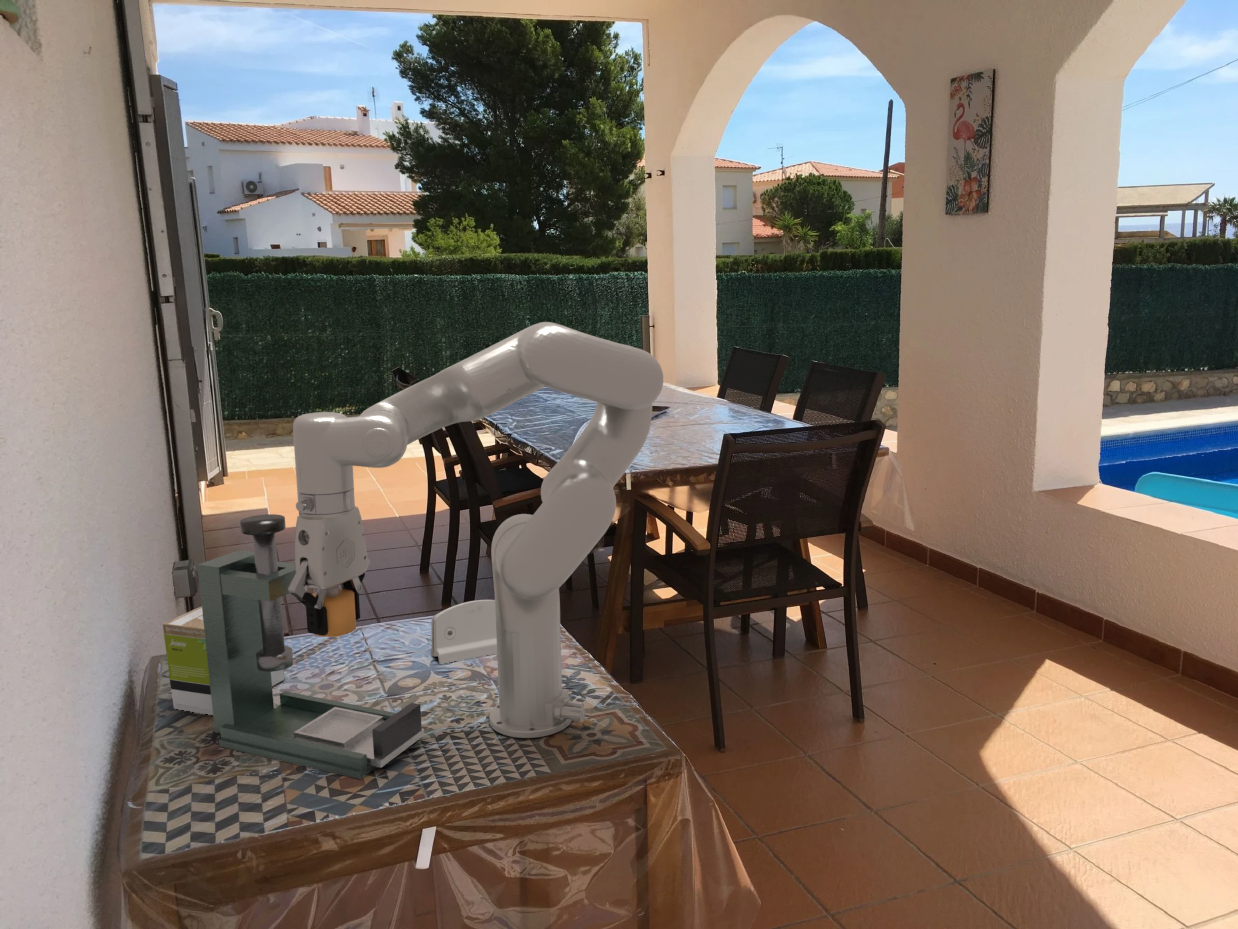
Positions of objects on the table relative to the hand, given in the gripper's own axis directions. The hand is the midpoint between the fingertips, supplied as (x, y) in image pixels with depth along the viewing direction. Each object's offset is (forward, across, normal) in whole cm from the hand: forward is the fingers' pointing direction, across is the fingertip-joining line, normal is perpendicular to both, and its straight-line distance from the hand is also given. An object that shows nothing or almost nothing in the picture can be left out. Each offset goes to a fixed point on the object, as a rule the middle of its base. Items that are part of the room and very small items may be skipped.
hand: (334, 624), depth 135 cm
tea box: (+18, +5, +28) cm, 34 cm away
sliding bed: (+17, -1, -4) cm, 17 cm away
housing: (+1, 0, 0) cm, 1 cm away
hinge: (+18, +38, +1) cm, 42 cm away
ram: (+7, -1, +10) cm, 13 cm away
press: (+18, -1, +5) cm, 19 cm away
